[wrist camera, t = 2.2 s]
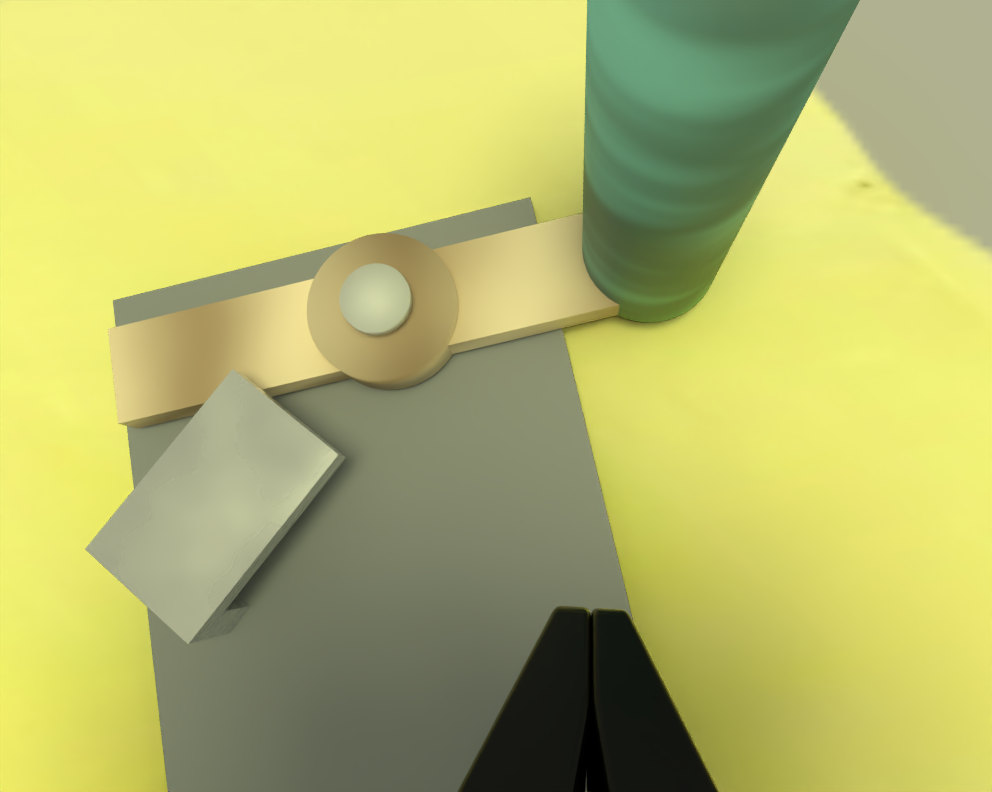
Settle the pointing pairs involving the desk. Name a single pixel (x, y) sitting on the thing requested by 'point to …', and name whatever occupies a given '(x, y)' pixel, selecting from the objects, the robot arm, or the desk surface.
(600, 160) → the link
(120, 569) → the block
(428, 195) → the desk surface
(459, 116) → the desk surface
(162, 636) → the base plate
